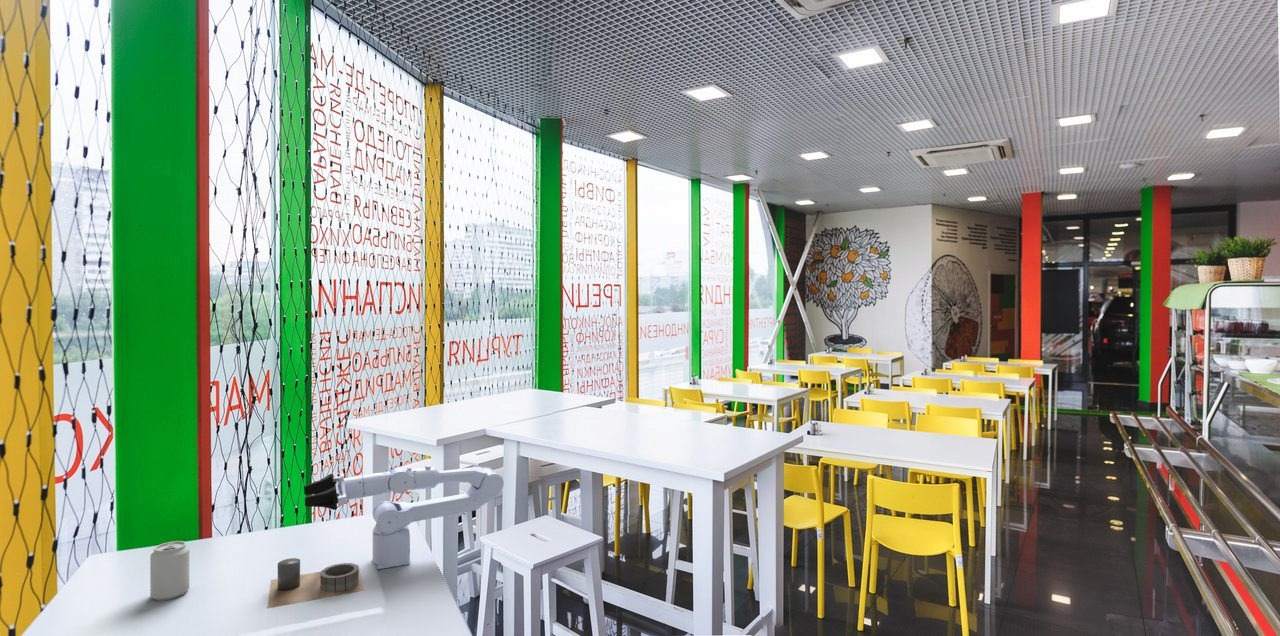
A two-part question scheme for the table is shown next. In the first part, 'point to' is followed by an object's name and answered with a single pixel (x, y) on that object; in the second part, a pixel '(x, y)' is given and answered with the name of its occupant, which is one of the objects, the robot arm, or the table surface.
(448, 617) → the table surface
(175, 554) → the can
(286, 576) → the dark gray cylinder
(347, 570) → the barrel mount
